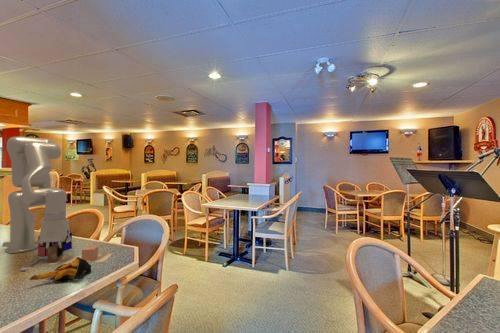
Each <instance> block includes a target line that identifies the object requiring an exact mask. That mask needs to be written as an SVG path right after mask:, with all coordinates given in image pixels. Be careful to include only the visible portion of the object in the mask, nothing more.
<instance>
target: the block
mask: <svg viewBox="0 0 500 333" xmlns="http://www.w3.org/2000/svg"><path fill="white" fill-rule="evenodd" d="M81 255H82V259H84V260H86V261H89V260H95V259H96V258H97V257H98V255H99V246H98V245H92V246H86V247H84V248H83V249H82V250H81Z"/></svg>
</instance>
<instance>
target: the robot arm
mask: <svg viewBox="0 0 500 333" xmlns="http://www.w3.org/2000/svg"><path fill="white" fill-rule="evenodd" d="M6 151H7V153H8V155H9V158H10V162H11V183H12V185H13V187H15V188H21V189H18V190H15V191H12V192H10V193H9V194H8V197H7V202H8V206H9V214H10V215H9V217H10V220H9V222H10V224H9V227H10V228H9V229H10V230H9V233H10V234H9V236H10V237H9V240H10V241H3V242H2V245H1V247H2V248H4V247H5V248H6V247H7V248H6V249H5V252H6V253H7V254H18V253H26V252H30V251H33V250H35V249H38V243H40V244H43V245H44V246H45V247H46V249H47V255H48V247H50V246H52V243H53V242H58V246H59V248H57V257H60V256H61V255H62V254H63V255H64V251H63V246H65V244H67V243H68V242H70V241H71V242H72V241H73V238H72V239H71V237H70V235H69V232H70V224H69V220H68V218H67V215H66V214H67V191H66V190H65V189H61V188H59V187H52V185H51V184H52V177H51V175H50V172H52V170H53V167H52V164H51V160H57V159H60V158H61V156H62V149H61V147H60V145H59V144H58V143H56V142H54V141H53V140H52V139H49V138H42V137H41V138H40V137H33V136H32V137H31V136H12V137H9V139H8V140H7V141H6ZM36 187H37V188H36ZM43 206H44V213H42V214H41V217H42V218H44V219H43V220H42V222H41V226H40V231H39V232H40V233H39V236H40V240H39V241H38V240H37V243H35V217H36V216H35V214H34V212H33V211H32V210H30V208H36V207H43ZM66 239H67V240H66ZM64 240H66V241H64Z"/></svg>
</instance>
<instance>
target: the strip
mask: <svg viewBox="0 0 500 333" xmlns="http://www.w3.org/2000/svg"><path fill="white" fill-rule="evenodd" d="M57 248H59V246H58V243H55V244H53V245H52V246H50V247H48V258H47V263H45V266H55V265H56V266H57V265H64V264H67V263H68V264H69V263H71V262H72V261H73V260H75V259H76V258H77V257H80V259H82V254H81V255H67V256H66V255H64V253H63V254H62V255H61V256H60V257H57ZM63 255H64V256H63ZM112 255H113V253H104V254H103V253H102V254H101V253H98V257H97V258H96V259H95V260H89V261H87V262H88V263H89V264H91V263H105V262H106V261H107V260H108V259H109V258H110V257H111V256H112Z"/></svg>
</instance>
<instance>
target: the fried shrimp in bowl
mask: <svg viewBox="0 0 500 333" xmlns="http://www.w3.org/2000/svg"><path fill="white" fill-rule="evenodd" d="M91 272H92V264H91V263H88V262H87V261H86V260H84V259H80V257H77V258H76V259H75V260H73V261H72V262H71V263H69V264H68V263H67V264H60V265H59V266H57V267H56V268H55V269H54V270H53V271H48V272H42V273H39V274H35V275H32V276H30V277H29V281H39V280H45V279H49V278H52V279H53V281H54V282H56V283H59V284H62V283H66V282H69V281H70V282H73V281H76V280H80V279H82V278H83V276H84V277H85V276H86V275H88V274H90V273H91ZM65 276H67V277H65Z"/></svg>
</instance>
